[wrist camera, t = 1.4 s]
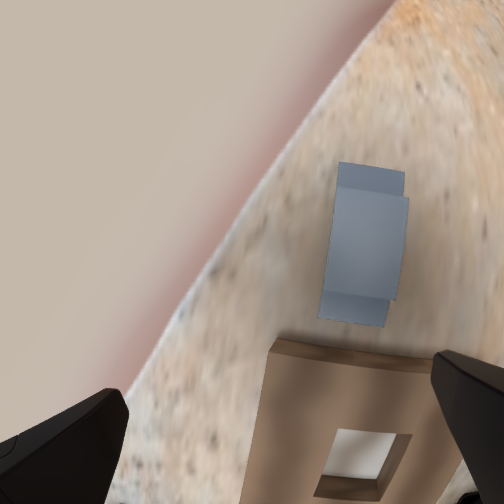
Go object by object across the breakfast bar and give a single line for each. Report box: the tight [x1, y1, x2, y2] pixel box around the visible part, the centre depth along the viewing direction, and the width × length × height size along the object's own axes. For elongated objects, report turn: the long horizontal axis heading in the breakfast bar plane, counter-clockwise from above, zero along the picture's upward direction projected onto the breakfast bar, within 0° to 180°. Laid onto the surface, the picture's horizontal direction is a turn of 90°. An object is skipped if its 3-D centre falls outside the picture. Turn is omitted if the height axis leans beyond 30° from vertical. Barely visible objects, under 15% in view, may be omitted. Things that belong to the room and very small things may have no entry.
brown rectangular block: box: [239, 338, 463, 504], centre depth 20 cm, size 18×18×4 cm
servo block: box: [318, 162, 409, 327], centre depth 20 cm, size 4×10×6 cm, turn 172°
